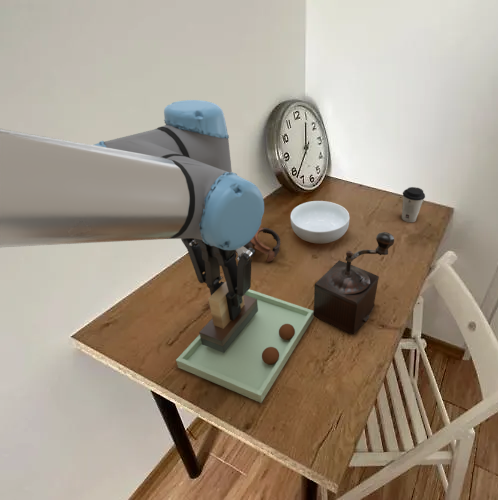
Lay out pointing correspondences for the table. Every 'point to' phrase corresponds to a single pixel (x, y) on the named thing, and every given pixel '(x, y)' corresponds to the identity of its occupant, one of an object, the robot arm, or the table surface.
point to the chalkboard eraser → (226, 320)
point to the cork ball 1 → (270, 355)
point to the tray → (250, 349)
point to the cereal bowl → (319, 221)
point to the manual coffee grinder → (349, 290)
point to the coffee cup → (412, 203)
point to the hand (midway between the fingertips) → (229, 313)
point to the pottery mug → (262, 247)
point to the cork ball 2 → (286, 331)
